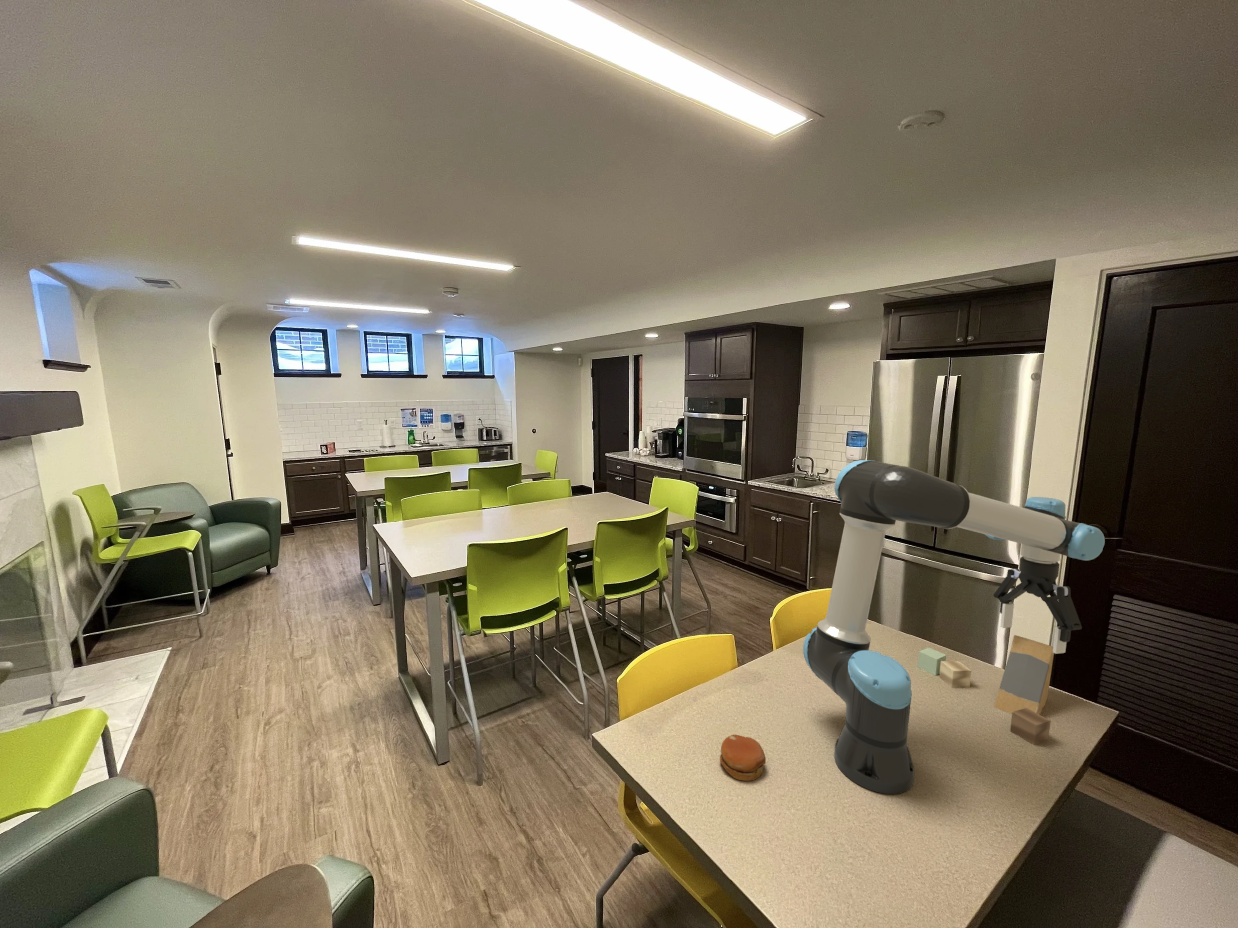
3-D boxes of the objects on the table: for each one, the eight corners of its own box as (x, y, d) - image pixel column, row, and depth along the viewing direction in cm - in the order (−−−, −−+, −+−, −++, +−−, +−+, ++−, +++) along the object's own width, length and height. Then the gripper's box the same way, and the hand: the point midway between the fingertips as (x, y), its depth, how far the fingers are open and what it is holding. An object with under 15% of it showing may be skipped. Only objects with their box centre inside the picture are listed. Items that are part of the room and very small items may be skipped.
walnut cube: (1033, 745, 111) (1036, 725, 110) (1010, 731, 115) (1012, 711, 115) (1048, 740, 112) (1050, 720, 112) (1024, 726, 117) (1026, 707, 116)
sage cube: (935, 675, 139) (936, 659, 138) (917, 667, 143) (918, 651, 143) (944, 670, 141) (946, 654, 141) (927, 662, 146) (928, 647, 145)
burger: (750, 789, 98) (750, 768, 98) (711, 765, 105) (711, 745, 104) (773, 763, 105) (773, 744, 105) (735, 743, 112) (735, 724, 111)
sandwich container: (992, 707, 125) (998, 652, 123) (1007, 685, 135) (1013, 634, 133) (1035, 724, 118) (1042, 666, 116) (1048, 699, 128) (1055, 646, 126)
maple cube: (951, 687, 133) (953, 670, 132) (939, 677, 138) (940, 660, 137) (969, 687, 133) (971, 670, 133) (956, 677, 138) (958, 660, 138)
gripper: (1109, 575, 110) (1098, 663, 113) (1005, 543, 134) (998, 616, 137) (1081, 577, 109) (1071, 666, 112) (982, 545, 133) (975, 618, 136)
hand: (1031, 639), depth 124 cm, fingers open, 13 cm apart
